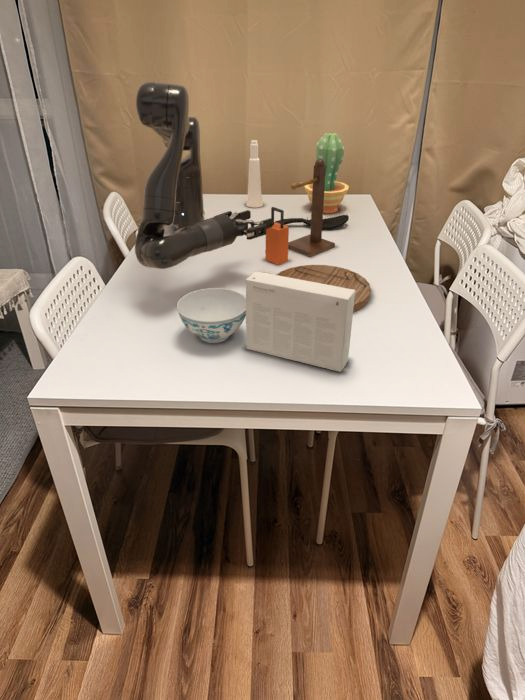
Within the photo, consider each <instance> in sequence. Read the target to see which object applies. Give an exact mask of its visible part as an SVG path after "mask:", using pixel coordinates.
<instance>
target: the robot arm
mask: <svg viewBox="0 0 525 700" xmlns="http://www.w3.org/2000/svg"><path fill="white" fill-rule="evenodd" d="M135 110H136V115H137V118H138V120H139V122H140V123H141V124H142V125H143V126H144V127H146V128H150V129H152V131H154V132H155V133H156V135H158V137H159V138H161V140H162V142H163V144H164V146H165V148H166V149H165V150H164V153H163V154H162V156H161V158H160V159H159V160H158V161H157V163H156V165H155V166H154V167H153V169H152V170H151V172H150V173H149V174H148V177H147V179H146V181H145V185H144V188H143V202H142V203H143V204H142V217H141V221H140V223H139V227H138V231H137V234H136V238H135V243H134V252H135V257H136V259H137V262H138V263H139V264H140V265H141V266H142V267H145V268H151V269H158V270H165V269H171V268H173V267H176V266H178V265H179V264H181V263H182V262H185V261H186V260H187V259H188V258H192V257H195V256H198V255H201V254H204V253H209V252H213V251H216V250H218V249H221V248H224V247H227V246H230V245H232V244H233V243H234V242H236V241H235V240H236V239H237V238H238V237H243V236H246V240H247V241H250V240H253V239H257V238H260V237H264V236H266V229H268V228H271V227H273V219H271V217H270V218H266V219H264V220H260V221H254V220H253V219H251V218H252V217H251V216H252V215H251V214H252V213H251V210H248V209H246V210H244V211H240V212H237V211H236V212H233V211H231V210H228V211H225V212H223V213H219V214H217V215H213V216H212V217H209V218H206V219H205V216H206V211H205V209H204V194H203V193H204V191H203V190H204V189H203V175H202V165H201V164H202V163H201V162H202V161H201V130H200V122H199V120H198V119H197V117H195V116H189V112H190V97H189V92H188V89H187V88H186V87H185V86H184V85H180V84H175V83H168V82H167V83H166V82H160V81H159V82H158V81H144V82H143V83H142V84H140V85H139V87H138V89H137V91H136V96H135ZM185 151H187V152H188V151H189V153H188V154H187V155H186V156H185V157H183V152H185ZM172 225H173V227H174V229H175V231H174V232H173V233H172V234H169V235H165V234H166V229H167V228H168V227H170V226H172ZM249 225H250V227H249Z"/></svg>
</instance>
